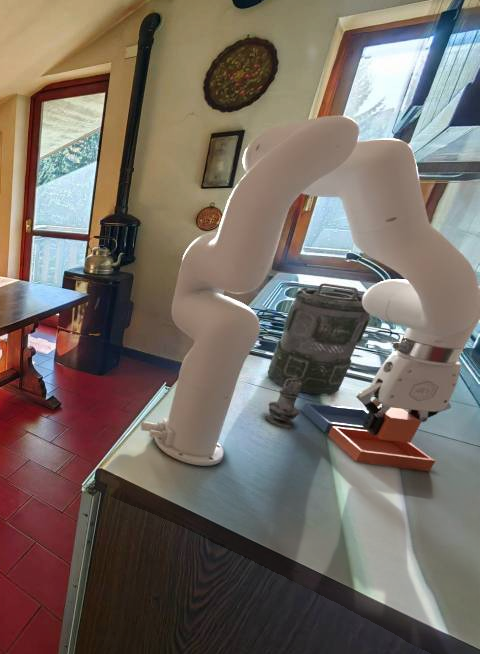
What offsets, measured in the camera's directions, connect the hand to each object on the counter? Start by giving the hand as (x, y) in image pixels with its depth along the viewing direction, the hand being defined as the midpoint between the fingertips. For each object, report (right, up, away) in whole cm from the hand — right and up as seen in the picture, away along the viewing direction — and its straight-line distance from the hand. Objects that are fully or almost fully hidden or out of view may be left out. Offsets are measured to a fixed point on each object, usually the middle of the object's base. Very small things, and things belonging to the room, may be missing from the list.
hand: (386, 432), depth 79 cm
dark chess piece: (-12, 0, +12) cm, 17 cm away
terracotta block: (0, 0, 0) cm, 0 cm away
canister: (+9, +7, +31) cm, 33 cm away
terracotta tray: (0, -5, +2) cm, 5 cm away
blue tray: (+2, -1, +11) cm, 12 cm away
